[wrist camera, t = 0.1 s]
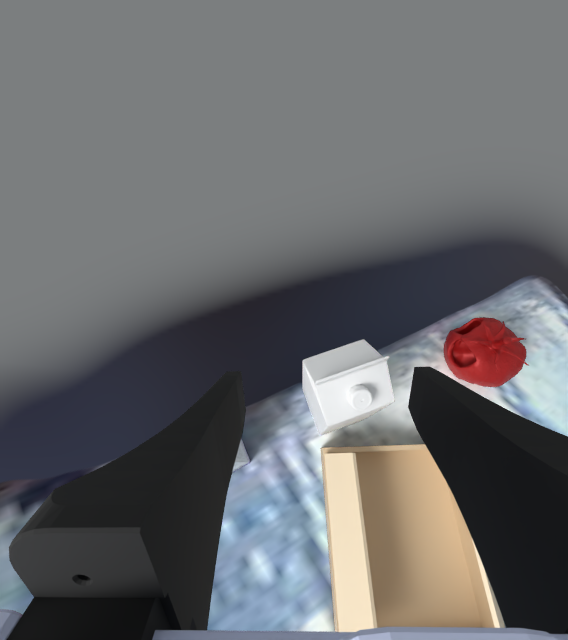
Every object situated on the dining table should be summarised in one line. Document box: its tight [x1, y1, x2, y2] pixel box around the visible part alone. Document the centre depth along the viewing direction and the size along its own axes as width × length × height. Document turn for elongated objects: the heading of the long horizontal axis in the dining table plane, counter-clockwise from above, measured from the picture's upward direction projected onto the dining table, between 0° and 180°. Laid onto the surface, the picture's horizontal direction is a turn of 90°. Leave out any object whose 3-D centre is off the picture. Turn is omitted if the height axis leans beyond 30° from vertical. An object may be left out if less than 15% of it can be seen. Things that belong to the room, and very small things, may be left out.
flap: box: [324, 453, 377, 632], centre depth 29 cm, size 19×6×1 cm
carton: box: [321, 444, 495, 632], centre depth 33 cm, size 20×17×4 cm
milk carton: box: [303, 339, 395, 436], centre depth 34 cm, size 7×7×19 cm
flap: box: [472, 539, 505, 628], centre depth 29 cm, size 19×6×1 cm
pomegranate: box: [444, 317, 528, 387], centre depth 40 cm, size 10×10×9 cm
